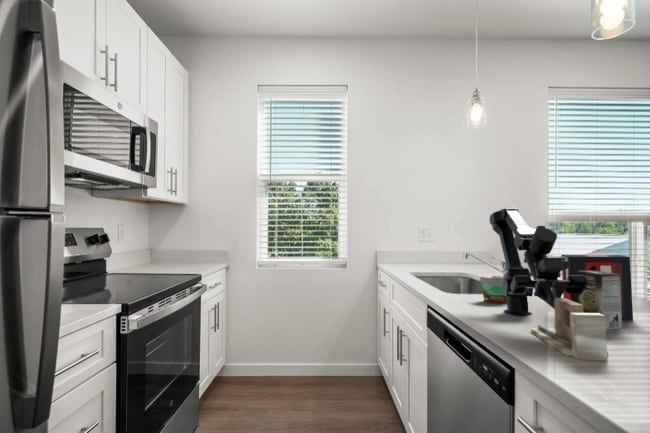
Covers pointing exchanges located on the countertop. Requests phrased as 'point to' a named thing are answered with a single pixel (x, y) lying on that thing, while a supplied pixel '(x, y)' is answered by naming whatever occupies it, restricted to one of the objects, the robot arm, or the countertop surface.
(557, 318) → the door
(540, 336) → the track
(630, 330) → the countertop surface
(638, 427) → the countertop surface
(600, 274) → the coffee box
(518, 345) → the countertop surface
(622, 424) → the countertop surface
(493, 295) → the food container
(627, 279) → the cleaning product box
